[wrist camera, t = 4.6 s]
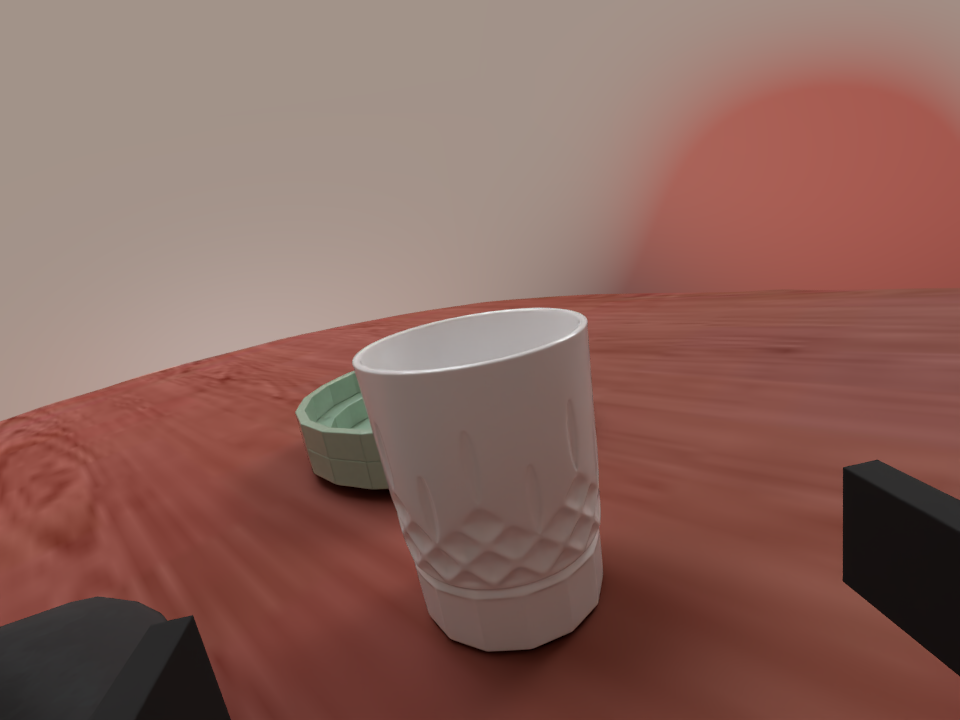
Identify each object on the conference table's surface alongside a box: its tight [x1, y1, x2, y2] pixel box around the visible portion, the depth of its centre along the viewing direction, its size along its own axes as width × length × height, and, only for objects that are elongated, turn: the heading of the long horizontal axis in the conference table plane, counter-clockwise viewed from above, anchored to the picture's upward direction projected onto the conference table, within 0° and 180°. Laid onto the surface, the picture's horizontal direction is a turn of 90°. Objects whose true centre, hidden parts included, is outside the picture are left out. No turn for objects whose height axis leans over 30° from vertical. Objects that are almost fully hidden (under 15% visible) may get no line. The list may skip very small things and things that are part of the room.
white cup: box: [352, 308, 603, 652], centre depth 20 cm, size 8×8×10 cm
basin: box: [295, 371, 389, 490], centre depth 37 cm, size 17×17×4 cm
